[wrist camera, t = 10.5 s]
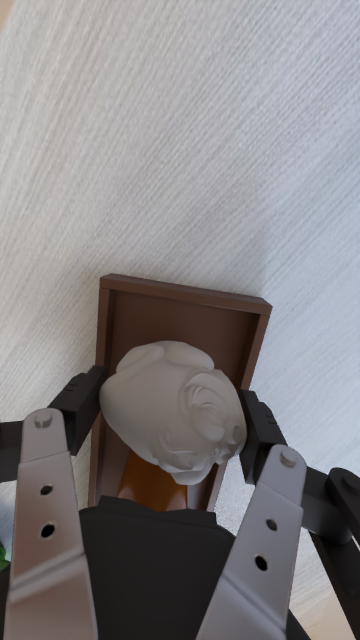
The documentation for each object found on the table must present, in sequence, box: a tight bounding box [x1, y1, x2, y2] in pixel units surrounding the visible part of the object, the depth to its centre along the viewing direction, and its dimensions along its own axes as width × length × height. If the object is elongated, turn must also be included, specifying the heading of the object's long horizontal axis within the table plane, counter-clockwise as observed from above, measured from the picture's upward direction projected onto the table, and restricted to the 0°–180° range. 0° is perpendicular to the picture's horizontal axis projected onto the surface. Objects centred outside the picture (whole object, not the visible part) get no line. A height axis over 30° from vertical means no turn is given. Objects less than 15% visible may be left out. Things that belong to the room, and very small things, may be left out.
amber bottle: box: [116, 449, 188, 512], centre depth 14 cm, size 5×5×12 cm
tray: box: [88, 273, 273, 512], centre depth 19 cm, size 27×10×2 cm, turn 171°
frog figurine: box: [99, 341, 247, 485], centre depth 12 cm, size 6×7×7 cm
